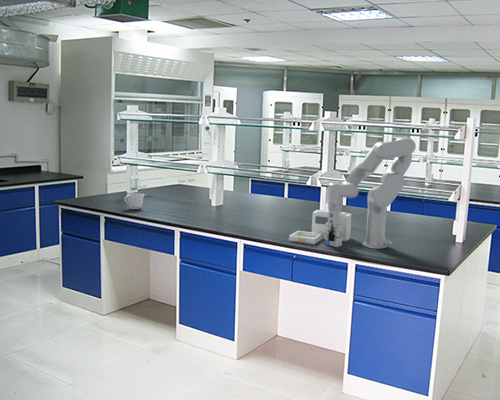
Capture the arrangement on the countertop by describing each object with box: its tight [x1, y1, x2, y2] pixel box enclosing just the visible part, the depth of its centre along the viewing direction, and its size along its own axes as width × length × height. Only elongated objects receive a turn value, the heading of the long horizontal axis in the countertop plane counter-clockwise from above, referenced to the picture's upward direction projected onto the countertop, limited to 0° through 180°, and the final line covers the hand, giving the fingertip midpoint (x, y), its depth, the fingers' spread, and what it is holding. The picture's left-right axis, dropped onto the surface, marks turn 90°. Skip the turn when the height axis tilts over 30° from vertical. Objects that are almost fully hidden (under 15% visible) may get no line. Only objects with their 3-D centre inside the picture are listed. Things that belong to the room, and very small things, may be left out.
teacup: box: [124, 192, 145, 210], centre depth 358 cm, size 12×15×10 cm
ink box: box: [323, 223, 343, 248], centre depth 276 cm, size 9×5×12 cm, turn 45°
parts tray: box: [288, 230, 324, 245], centre depth 286 cm, size 15×14×3 cm
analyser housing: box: [311, 209, 352, 242], centre depth 292 cm, size 20×9×15 cm, turn 64°
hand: (333, 239), depth 277 cm, fingers closed on ink box, 6 cm apart
